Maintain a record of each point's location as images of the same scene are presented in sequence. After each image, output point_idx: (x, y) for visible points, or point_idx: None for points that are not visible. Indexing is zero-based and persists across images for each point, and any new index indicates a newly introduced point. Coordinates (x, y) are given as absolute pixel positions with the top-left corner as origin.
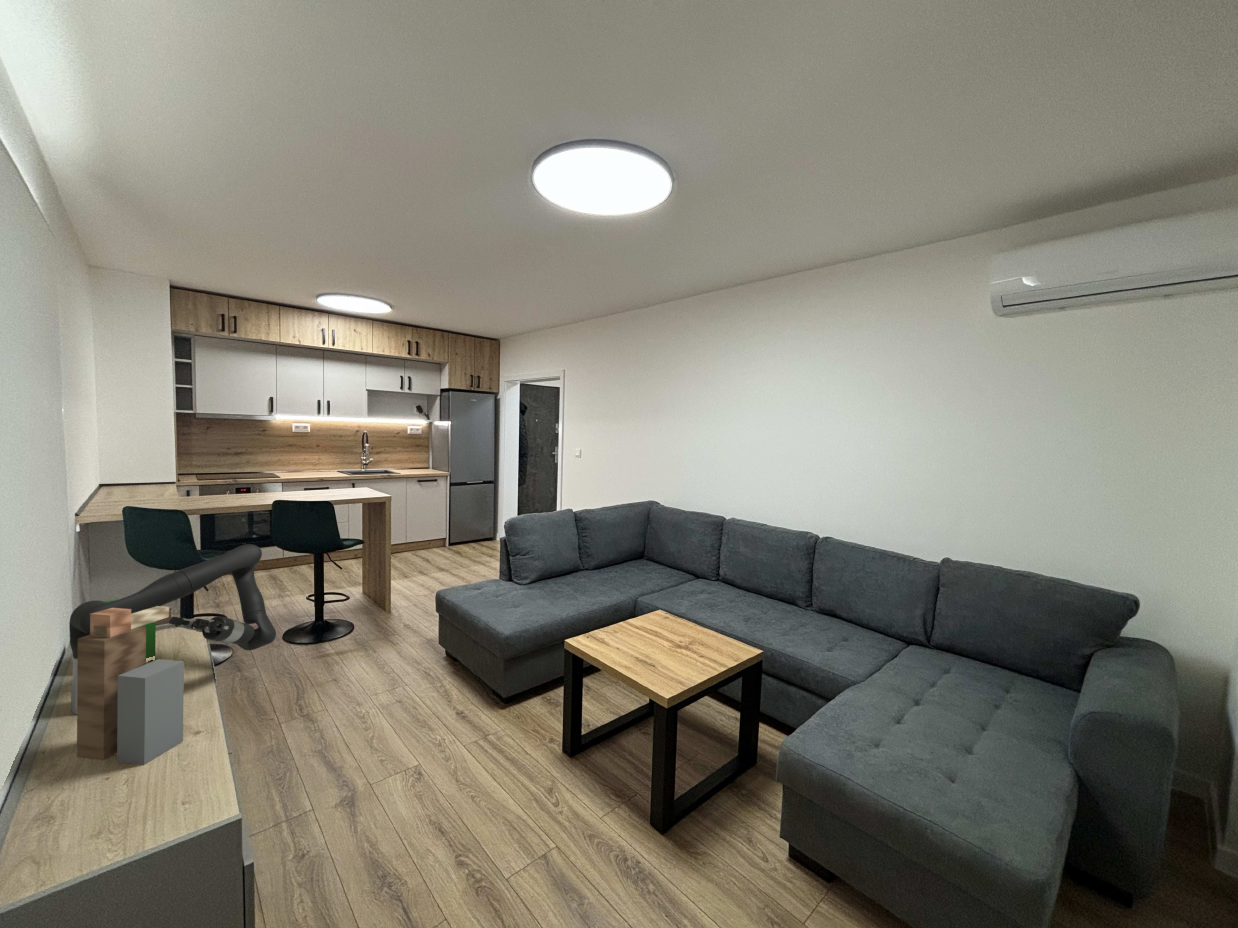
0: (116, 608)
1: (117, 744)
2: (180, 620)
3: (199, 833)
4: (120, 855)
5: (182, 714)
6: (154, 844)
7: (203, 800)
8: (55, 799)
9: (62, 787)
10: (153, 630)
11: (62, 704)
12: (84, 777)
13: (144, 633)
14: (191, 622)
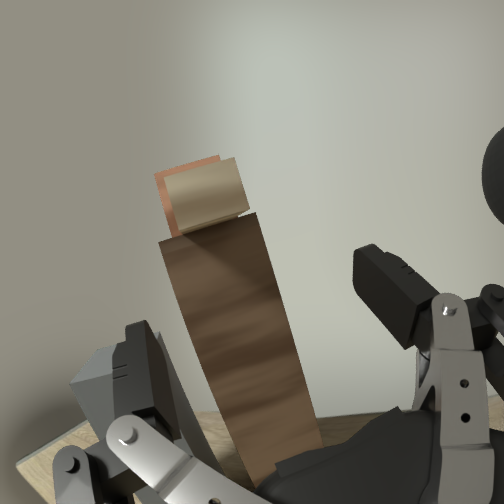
0: (199, 161)
1: (214, 456)
2: (397, 306)
3: (31, 453)
4: (75, 433)
5: (141, 501)
6: (58, 442)
7: (46, 474)
8: (210, 431)
9: (230, 437)
10: None
11: None
12: (227, 451)
13: (165, 264)
14: (426, 386)
